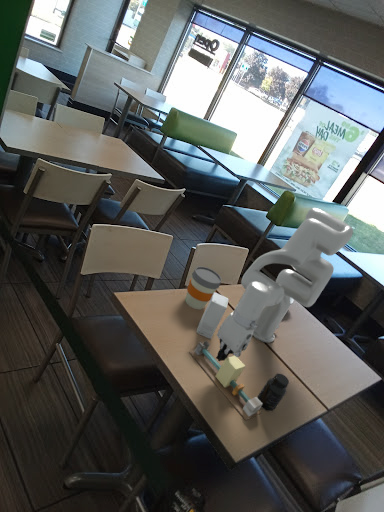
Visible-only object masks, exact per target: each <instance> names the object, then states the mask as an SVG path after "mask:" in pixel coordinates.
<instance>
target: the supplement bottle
mask: <svg viewBox="0 0 384 512" xmlns="http://www.w3.org/2000/svg"><path fill="white" fill-rule="evenodd" d="M289 384H290V381H289V379H288V378H287V376H286V375H284V374H283V373H279V372H278V373H276V374H275V375H274V376H273V377H271V378H269V379H268V380H267V381H266V383H265V384H264V386H263V387H262V389H261V390H260V392H259V393H258V394H257V396H256V397H257V398H258V399H259V400H260V401H261V402H262V406H261V407H260V408H262V409H263V410H265V411H268V412H273V411H275V409H276V408H277V406H279V404H280V403H281V401H282V400H283V398H284V397H285V395H286V394H287V392H288V391H287V390H288V389H287V387H288V386H289Z"/></svg>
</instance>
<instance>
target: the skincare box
mask: <svg viewBox="0 0 384 512" xmlns="http://www.w3.org/2000/svg"><path fill="white" fill-rule="evenodd" d="M228 303H229V298H228V297H226V296H224V295H221V294H220V293H217V292H216V293H215V292H214V293H213V295H212V297H211V300H210V301H208V303H207V306H206V308H205V310H204V312H203V313H202V317H201V319H200V320H199V323H198V326H197V329H196V333H197V334H198V335H200V336H202V337H204V338H206V339H209V340H211V339H212V338H213V335H214V334H215V332H216V330H217V329H218V328H217V327H218V326H219V324H220V322H221V320H222V318H223V316H224V314H225V313H226V310H227V308H228Z"/></svg>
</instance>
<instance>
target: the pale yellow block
mask: <svg viewBox="0 0 384 512" xmlns="http://www.w3.org/2000/svg"><path fill="white" fill-rule="evenodd" d="M245 367H246V365H245V363H244V362H243V361H241V360H240V359H239V357H236V356H234V355H232V356H229V357H227V358H226V359H225V360H224V361H223V363H222V364H221V368H220V369H219V371H218V373H217V374H216V376H215V377H216V378H217V379H218V380H219V381H220V383H221V384H222V385H223V386H224V387H228V386H230V382H231V381H232V380H234V381H235V382H236V383H237V380H238V379H239V377H240V375H241V374H242V373H243V371H244V369H245Z"/></svg>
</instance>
